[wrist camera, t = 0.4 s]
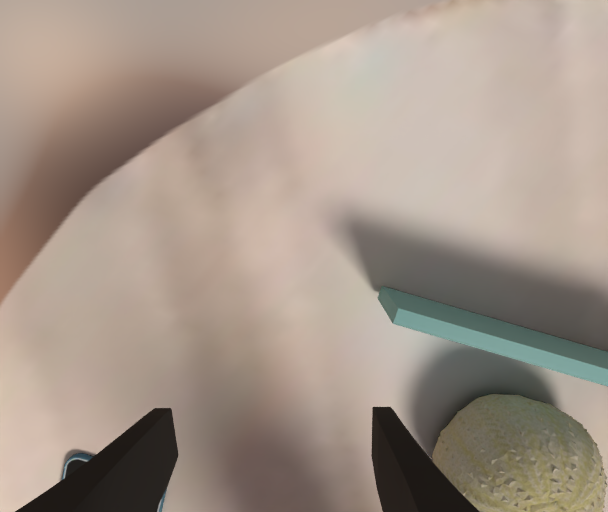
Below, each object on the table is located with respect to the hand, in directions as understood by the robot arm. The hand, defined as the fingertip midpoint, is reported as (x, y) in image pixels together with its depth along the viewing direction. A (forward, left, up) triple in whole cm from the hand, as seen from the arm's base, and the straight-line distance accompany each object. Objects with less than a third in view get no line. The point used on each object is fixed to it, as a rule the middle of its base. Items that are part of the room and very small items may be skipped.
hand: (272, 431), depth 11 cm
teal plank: (+4, -13, -9) cm, 16 cm away
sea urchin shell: (-4, -15, -9) cm, 18 cm away
